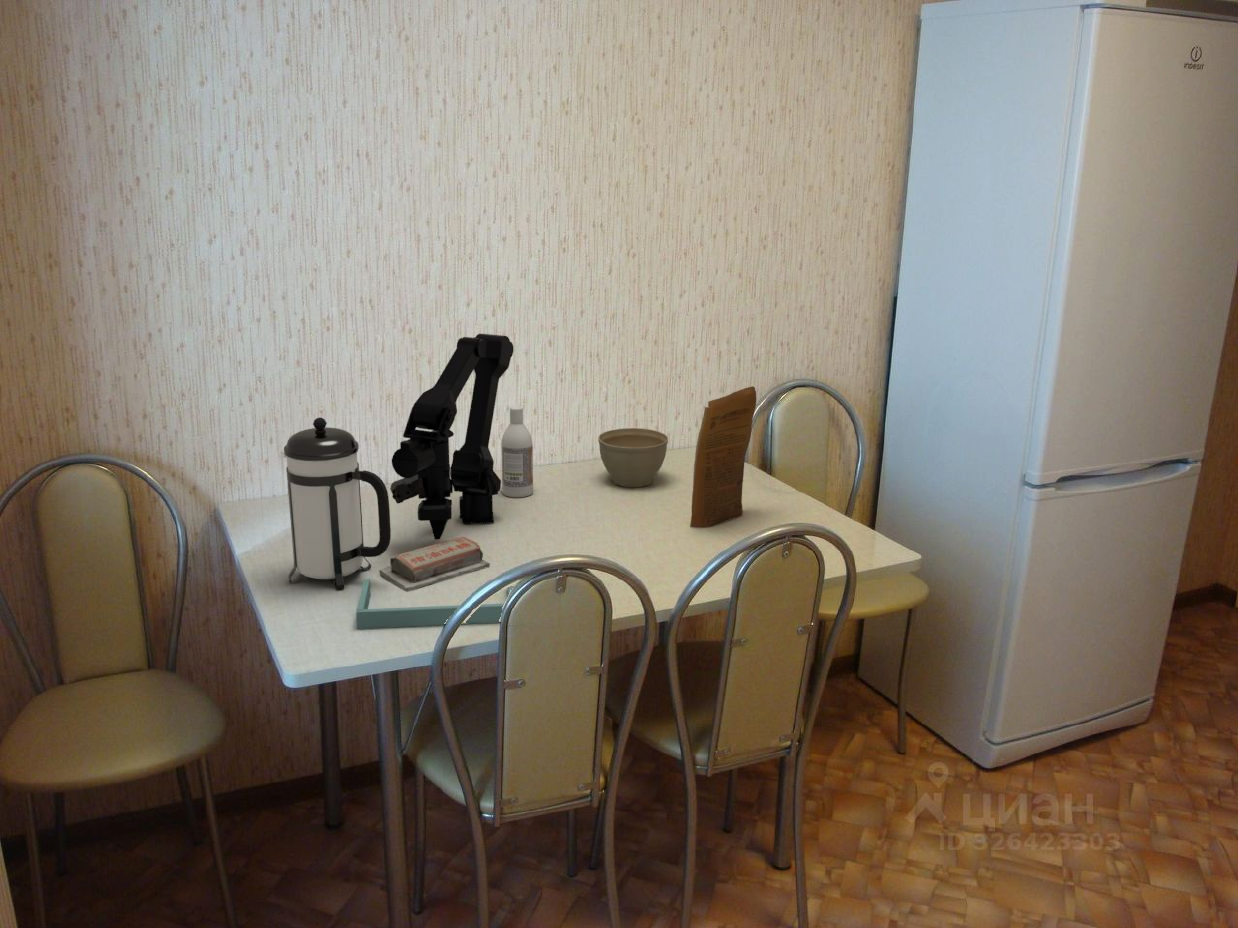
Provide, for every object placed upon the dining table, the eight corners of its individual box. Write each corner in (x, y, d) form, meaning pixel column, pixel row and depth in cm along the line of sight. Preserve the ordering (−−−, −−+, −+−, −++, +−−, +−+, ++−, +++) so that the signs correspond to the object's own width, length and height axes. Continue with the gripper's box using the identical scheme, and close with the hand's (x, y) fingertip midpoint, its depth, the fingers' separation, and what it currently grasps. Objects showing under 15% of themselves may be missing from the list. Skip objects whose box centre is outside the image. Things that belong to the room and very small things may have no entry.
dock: (512, 589, 195) (512, 573, 194) (515, 621, 182) (515, 605, 181) (364, 595, 192) (363, 579, 191) (357, 628, 179) (356, 612, 178)
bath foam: (535, 497, 243) (534, 410, 237) (504, 499, 241) (502, 412, 235) (530, 487, 249) (529, 403, 243) (500, 489, 248) (498, 404, 242)
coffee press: (295, 599, 189) (281, 434, 180) (283, 566, 203) (270, 411, 194) (394, 584, 196) (385, 424, 187) (376, 553, 210) (367, 403, 201)
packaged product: (459, 530, 210) (489, 545, 203) (460, 553, 212) (490, 569, 205) (377, 553, 199) (406, 569, 192) (378, 577, 200) (407, 594, 193)
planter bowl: (589, 474, 260) (590, 430, 256) (653, 469, 264) (654, 425, 261) (609, 495, 245) (609, 449, 242) (676, 489, 250) (678, 444, 246)
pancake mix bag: (760, 513, 235) (767, 387, 227) (701, 534, 222) (706, 401, 214) (737, 505, 240) (743, 381, 231) (677, 525, 227) (681, 395, 219)
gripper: (395, 450, 218) (398, 523, 222) (388, 479, 200) (392, 558, 205) (451, 449, 219) (453, 522, 224) (449, 478, 201) (452, 556, 206)
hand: (437, 538), depth 215 cm, fingers closed
